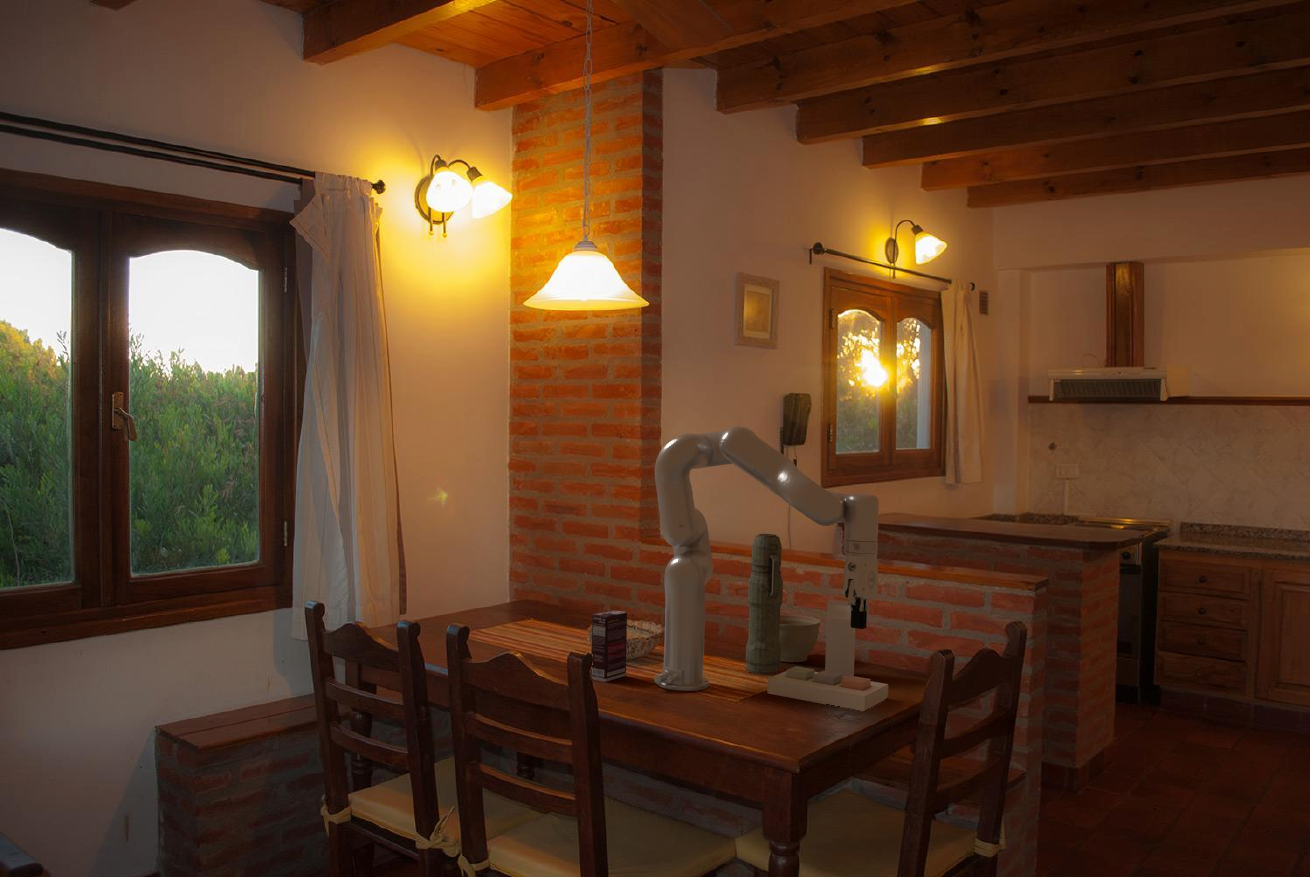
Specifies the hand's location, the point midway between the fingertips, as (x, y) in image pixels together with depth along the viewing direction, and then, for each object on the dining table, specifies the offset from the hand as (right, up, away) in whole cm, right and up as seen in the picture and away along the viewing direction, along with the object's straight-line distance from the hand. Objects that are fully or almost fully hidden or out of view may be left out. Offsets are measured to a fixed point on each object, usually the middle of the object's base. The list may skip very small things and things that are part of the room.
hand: (858, 627), depth 230 cm
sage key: (-12, -14, +8) cm, 20 cm away
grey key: (-6, -14, +4) cm, 16 cm away
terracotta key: (-1, -14, 0) cm, 14 cm away
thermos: (-19, -17, +28) cm, 37 cm away
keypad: (-7, -17, +4) cm, 18 cm away
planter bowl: (-10, -17, +43) cm, 47 cm away
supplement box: (-58, -15, +15) cm, 62 cm away
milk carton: (0, -17, +26) cm, 31 cm away
